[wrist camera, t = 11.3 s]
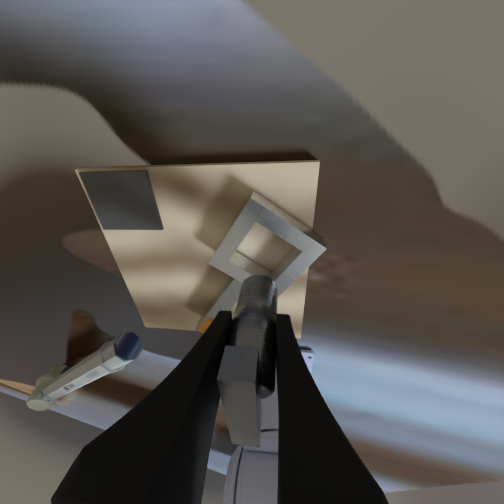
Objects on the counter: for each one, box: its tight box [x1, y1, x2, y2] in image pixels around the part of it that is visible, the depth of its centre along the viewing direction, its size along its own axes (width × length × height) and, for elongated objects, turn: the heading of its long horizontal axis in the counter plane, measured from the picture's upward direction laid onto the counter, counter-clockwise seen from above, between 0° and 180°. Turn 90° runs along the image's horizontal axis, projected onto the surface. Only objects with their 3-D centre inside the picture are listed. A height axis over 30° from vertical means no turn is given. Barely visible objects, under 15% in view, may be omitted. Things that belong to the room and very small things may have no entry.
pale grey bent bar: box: [27, 332, 143, 411], centre depth 34 cm, size 5×7×25 cm
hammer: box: [217, 275, 278, 448], centre depth 11 cm, size 5×2×7 cm, turn 3°
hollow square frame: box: [195, 191, 327, 334], centre depth 20 cm, size 7×16×2 cm, turn 148°
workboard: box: [75, 160, 320, 338], centre depth 22 cm, size 20×20×1 cm
